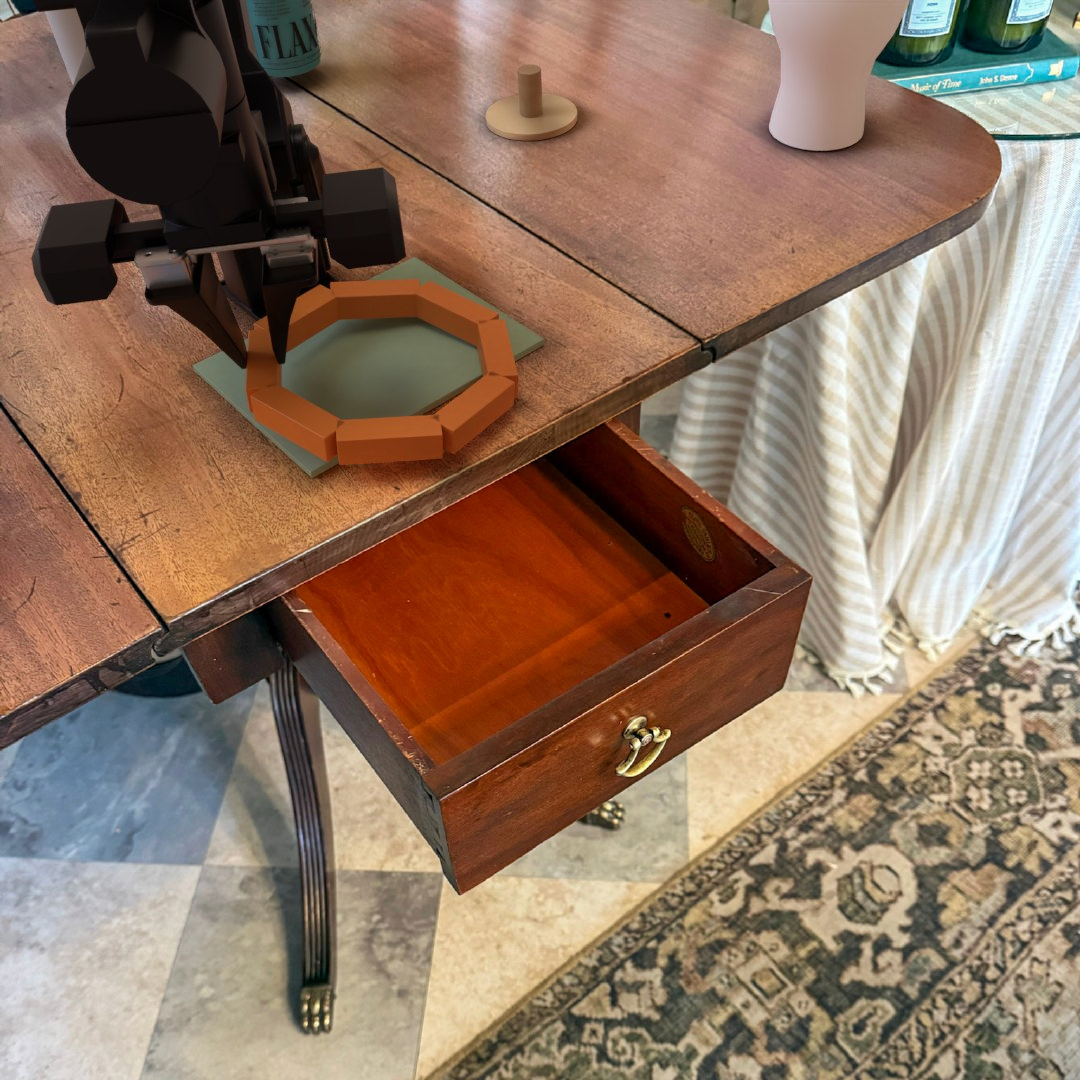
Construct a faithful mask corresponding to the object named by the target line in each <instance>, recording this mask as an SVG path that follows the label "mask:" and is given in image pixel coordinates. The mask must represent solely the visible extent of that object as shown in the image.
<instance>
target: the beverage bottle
mask: <svg viewBox="0 0 1080 1080" xmlns="http://www.w3.org/2000/svg"><path fill="white" fill-rule="evenodd" d="M246 3H247V8H248V14H249V19H250V25H251V30H252V36H253V41H254V46H255V52H256V57H257V60H258V62H259V63H260V64H261V65H262V67H263V68H264V69H265V71H266V72H267V73H268V75H269V76H270V77H271V78H272V77H274V78H288V77H296V76H299V75H303V74H306V73H308V72H311V71H313V70H314V69H316V68H317V67H318V66H319V65H320V63H321V57H322V52H323V51H322V46H321V45H320V40H319V36H320V35H319V33H318V30H319V29H318V25H317V20H316V16H315V15H316V13H315V11H314V10H315V9H314V7H313V3H312V1H311V0H246Z"/></svg>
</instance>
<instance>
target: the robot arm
mask: <svg viewBox="0 0 1080 1080" xmlns="http://www.w3.org/2000/svg"><path fill="white" fill-rule="evenodd" d="M32 3H33V5H34V7H35V9H36V11H37V12H38V13H45V11H55V10H65V9H75V8H76V10H77V13H78V16H79V19H80V21H81V24H82V27H83V31H84V37H85V41H86V51H85V53H84V56H83V59H82V62H81V65H80V67H79V70H78V73H77V76H76V78H75V81H74V84H72V87H71V89H70V93H69V95H68V100H67V103H66V107H65V111H64V114H65V115H64V116H65V117H64V118H65V136H66V140H67V143H68V146H69V148H70V149H69V150H70V151H71V153H72V154H73V156H74V158H75V160H76V161H77V163H78V164H79V166H80V167H81V168H82V169H83V171H84V172H86V173H87V175H88V176H89V178H91V179H92V180H93V181H94V182H95V183H97V184H98V185H100V187H102V188H103V189H105V190H106V191H108V192H109V193H111V194H113V195H116V196H117V197H119V198H122V199H124V200H126V201H130V202H133V203H137V204H141V205H147V206H148V205H149V206H157V208H158V211H159V215H160V217H161V218H157V219H149V220H148V219H147V220H141V221H130V218H129V216H128V213H127V210H126V207H125V205H124V204H123V203H122V202H121V201H120V200H118V198H107V199H105V198H104V199H98V200H89V201H81V202H72V203H61V204H55V205H54V204H53V205H51V206H50V208H49V210H48V211H47V213H46V215H45V217H44V219H43V221H42V225H41V228H40V231H39V234H38V237H37V239H36V243H35V246H34V248H33V252H32V255H31V264H32V269H33V275H34V277H35V279H36V282H37V284H38V285H39V287H40V289H41V291H42V294H43V297H44V298H45V301H46V302H48V303H50V304H52V305H54V306H65V305H72V304H80V303H88V302H95V301H104V300H107V299H108V298H109V297H110V295H111V293H112V292H113V291H114V289H115V288H116V286H117V284H118V280H119V277H118V275H117V272H116V270H115V266H114V265H116V264H124V263H130V262H131V263H132V262H133V263H134V265H135V267H136V268H137V269H139V270H140V273H141V275H142V278H143V280H144V283H145V288H144V294H143V295H144V296H143V297H144V298H145V300H146V302H147V304H148V305H149V306H153V307H158V306H165V307H168V308H169V309H170V310H171V311H173V312H174V313H176V314H177V315H178V316H180V317H181V318H183V320H185V321H186V322H188V323H190V324H191V325H192V326H194V327H195V328H196V329H198V331H200V332H201V333H202V334H204V336H206V337H207V338H208V339H210V341H211V342H212V343H213V344H214V345H216V346H217V348H219V349H220V350H221V351H223V352H224V353H225V354H226V355H227V356H228V357H229V358H231V359H232V360H233V361H234V362H235V363H236V364H237V365H238V366H239V367H240V368H241V369H246V368H247V349H246V345H245V341H244V340H245V338H244V335H243V332H242V330H241V328H240V324H239V323H238V321H237V318H236V316H235V314H234V312H233V309H232V307H231V305H230V302H229V301H231V302H232V303H234V304H235V305H236V306H237V307H239V308H240V309H241V310H242V311H244V312H245V313H246V314H247V315H248V316H250V317H251V318H252V319H253V320H255V322H257V321H259V320H260V319H262V318H264V317H265V316H267V320H268V326H269V332H270V338H271V343H272V349H273V352H274V355H275V357H276V360H277V362H278V364H285V360H286V351H287V341H288V332H289V324H290V319H291V315H292V312H293V309H294V306H295V303H296V299H297V298H298V297H300V296H301V295H303V294H305V293H306V292H308V291H310V290H311V289H313V288H315V287H317V286H318V285H322V286H324V287H326V288H328V289H330V282H341V281H340V280H339V279H338V278H337V277H336V276H333V274H331V273H329V271H330V270H331V268H332V262H331V260H333V261H335V263H337V264H339V265H340V266H342V267H344V268H345V269H347V270H353V269H362V268H370V267H378V266H385V265H386V266H387V265H395V264H398V263H399V262H401V261H402V260H403V259H405V258H406V257H407V252H406V244H405V237H404V229H403V221H402V215H401V208H400V200H399V195H398V188H397V182H396V177H395V176H394V175H393V174H391V173H390V172H389V171H388V170H387V169H386V168H384V167H383V166H382V167H372V168H364V169H355V170H348V171H340V172H339V171H338V172H330V173H327V172H326V169H325V165H324V162H323V158H322V156H321V153H320V150H319V149H320V148H319V147H318V146H317V145H315V144H314V143H313V142H312V141H311V139H310V137H309V135H308V134H307V131H306V129H305V127H304V124H303V123H296V124H295V120H294V115H293V110H292V106H291V103H290V101H289V99H288V98H287V97H286V95H285V94H284V93H283V91H282V90H281V89H280V88H279V86H278V84H276V83H275V81H274V80H273V79H272V76H269V75H268V73H267V72H266V71H265V69H264V68H263V67H262V65H261V64H260V63H259V62H258V60H257V57H256V52H255V46H254V41H253V36H252V30H251V25H250V19H249V14H248V8H247V3H246V0H32ZM213 253H216V256H217V259H218V262H219V266H220V269H221V273H222V276H223V279H221V280H220V278H219V276H218V273H217V269H216V265H215V262H214V259H213ZM228 299H229V300H228Z"/></svg>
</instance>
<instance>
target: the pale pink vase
mask: <svg viewBox="0 0 1080 1080" xmlns="http://www.w3.org/2000/svg"><path fill="white" fill-rule="evenodd" d="M910 1H911V0H767V3H768V8H769V9H768V10H769V15H770V23H771V27H772V31H773V34H774V36H775V40H776V42H777V46H778V48H779V51H780V84H779V89H778V91H777V95H776V98H775V102H774V104H773V107H772V111H771V115H770V119H769V124H768V130H769V133H770V135H772V137H773V138H774V139H775V140H777V141H778V142H780V143H782V144H783V145H786V146H789V147H791V148H796V149H800V150H807V151H814V152H815V151H816V152H818V151H821V152H823V151H825V152H827V151H835V150H836V151H837V150H841V149H845V148H847V147H851V146H852V145H854V144H856V143H858V142H859V141H860V140H861V139H862V138H863V135H864V131H865V121H866V98H867V97H866V92H867V86H868V82H869V80H870V77H871V74H872V70H873V68H874V64H875V62H876V59H877V58H878V57H879V55H881V53H882V52H883V50H884V48H885V47H886V46H887V44H888V43H889V42H890V40H891V39H892V38H893V36H894V35H895V34H896V31H897V29H898V28H899V25H900V24H901V21H902V19H903V17H904V15H905V13H906V11H907V9H908V7H909V5H910Z"/></svg>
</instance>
